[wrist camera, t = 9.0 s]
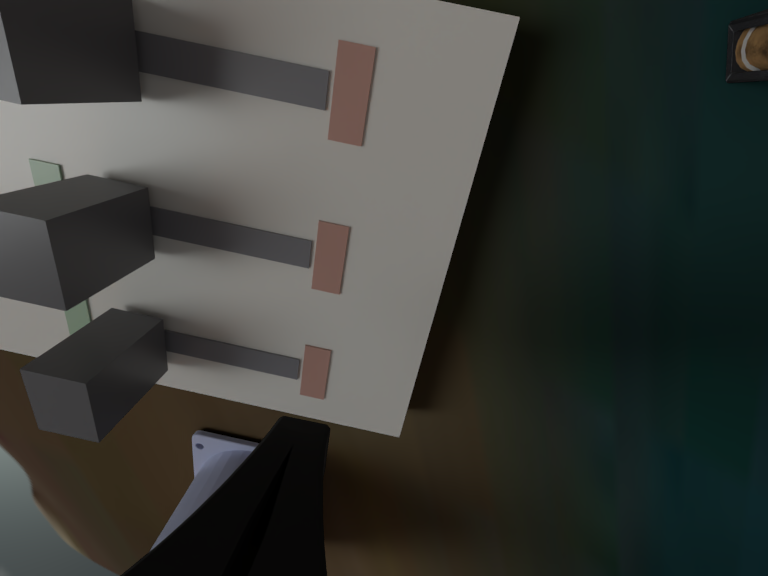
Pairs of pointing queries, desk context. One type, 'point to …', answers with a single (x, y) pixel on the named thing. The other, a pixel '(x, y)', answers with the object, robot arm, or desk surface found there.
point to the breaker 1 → (68, 52)
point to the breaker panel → (281, 191)
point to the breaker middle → (72, 239)
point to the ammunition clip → (748, 49)
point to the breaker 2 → (96, 374)
